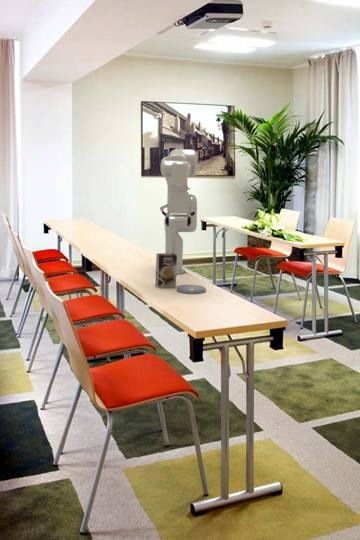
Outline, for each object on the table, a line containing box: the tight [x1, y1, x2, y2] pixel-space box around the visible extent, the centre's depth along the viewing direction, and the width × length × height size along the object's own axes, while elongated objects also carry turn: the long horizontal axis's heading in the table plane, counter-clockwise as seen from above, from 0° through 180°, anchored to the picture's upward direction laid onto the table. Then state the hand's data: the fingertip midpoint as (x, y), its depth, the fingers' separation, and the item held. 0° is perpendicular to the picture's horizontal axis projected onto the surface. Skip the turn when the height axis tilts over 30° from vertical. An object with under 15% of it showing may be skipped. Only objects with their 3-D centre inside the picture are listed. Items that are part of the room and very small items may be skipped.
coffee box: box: [155, 252, 177, 289], centre depth 300 cm, size 9×6×16 cm
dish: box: [176, 284, 207, 295], centre depth 294 cm, size 14×14×2 cm
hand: (178, 225), depth 287 cm, fingers open, 9 cm apart
